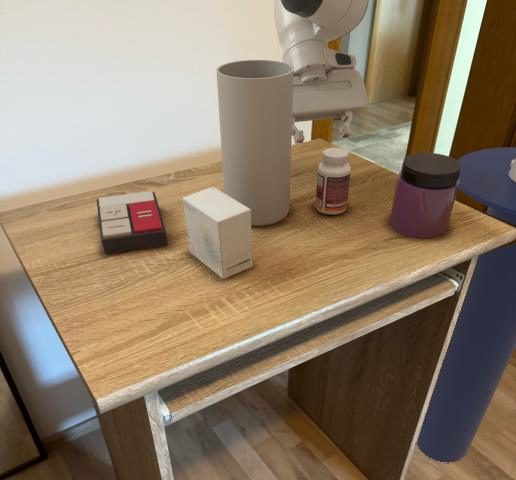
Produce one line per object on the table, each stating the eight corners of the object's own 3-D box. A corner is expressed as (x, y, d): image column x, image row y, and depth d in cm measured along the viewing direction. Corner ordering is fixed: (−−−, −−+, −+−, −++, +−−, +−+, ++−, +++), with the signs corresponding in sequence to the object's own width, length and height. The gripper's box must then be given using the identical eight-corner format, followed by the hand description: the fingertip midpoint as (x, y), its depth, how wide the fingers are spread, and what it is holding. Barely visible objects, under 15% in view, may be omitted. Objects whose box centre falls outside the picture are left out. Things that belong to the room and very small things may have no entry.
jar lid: (435, 162, 89) (438, 149, 87) (469, 182, 82) (473, 169, 81) (390, 170, 87) (392, 157, 85) (421, 192, 80) (425, 177, 78)
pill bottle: (351, 206, 97) (358, 150, 89) (338, 218, 93) (344, 161, 85) (323, 199, 99) (328, 143, 92) (309, 211, 95) (312, 154, 88)
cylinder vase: (266, 193, 101) (266, 56, 85) (301, 216, 94) (309, 71, 77) (213, 208, 97) (202, 66, 80) (246, 234, 89) (241, 83, 72)
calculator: (99, 236, 81) (95, 194, 91) (105, 258, 84) (100, 215, 94) (165, 226, 83) (153, 187, 94) (168, 248, 86) (157, 207, 97)
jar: (424, 208, 96) (437, 151, 88) (458, 232, 88) (476, 173, 81) (378, 217, 93) (388, 160, 86) (410, 243, 86) (423, 183, 78)
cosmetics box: (187, 253, 84) (180, 196, 77) (218, 241, 87) (214, 185, 80) (221, 280, 78) (217, 220, 71) (254, 266, 80) (252, 207, 73)
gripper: (259, 63, 88) (274, 137, 88) (363, 55, 92) (378, 125, 92) (253, 84, 94) (267, 153, 94) (350, 76, 98) (364, 141, 98)
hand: (323, 139), depth 93 cm, fingers open, 8 cm apart
